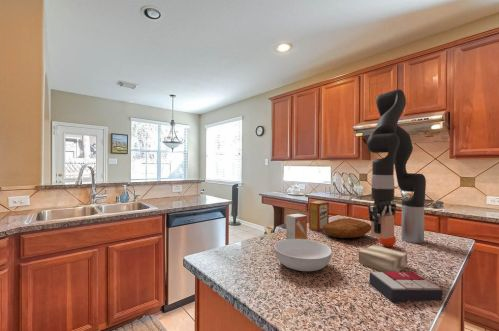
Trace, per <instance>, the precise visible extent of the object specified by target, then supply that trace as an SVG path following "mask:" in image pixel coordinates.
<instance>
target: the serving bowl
mask: <svg viewBox="0 0 499 331" xmlns="http://www.w3.org/2000/svg"><path fill="white" fill-rule="evenodd" d="M273 249H274V250H273V251H274V254H275V257H276V259H277V260H278V261H279V263H281V264H282V265H283V266H285V267H287V268H289V269H290V270H291V269H292V270H293V271H294V270H296V271H301V272H316V271H319V270H321V269H323V268H325V267H327V266H328V264H329V263H330V261H331V259H332V253H333V251H332V249H331V247H330V246H328V245H327V244H325V243H322V242H319V241H316V240H312V239H307V240H306V239H286V238H285V239H282V240H278V241H277V242H276V243H275V244H274V245H273Z"/></svg>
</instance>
